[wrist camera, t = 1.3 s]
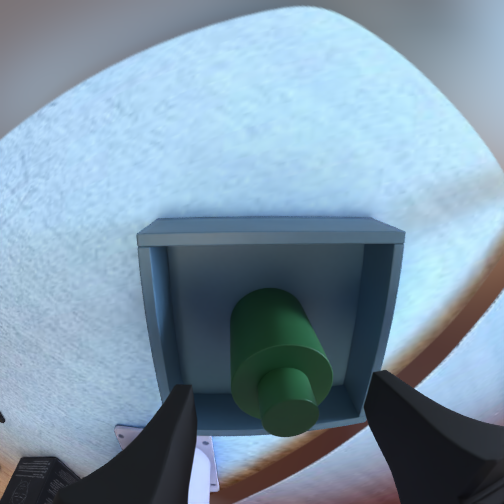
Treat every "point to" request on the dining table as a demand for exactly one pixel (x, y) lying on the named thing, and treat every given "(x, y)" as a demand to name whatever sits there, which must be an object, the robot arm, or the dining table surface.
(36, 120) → the dining table surface
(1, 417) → the mat
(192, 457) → the robot arm
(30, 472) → the box
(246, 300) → the bottle
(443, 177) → the dining table surface
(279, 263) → the case
